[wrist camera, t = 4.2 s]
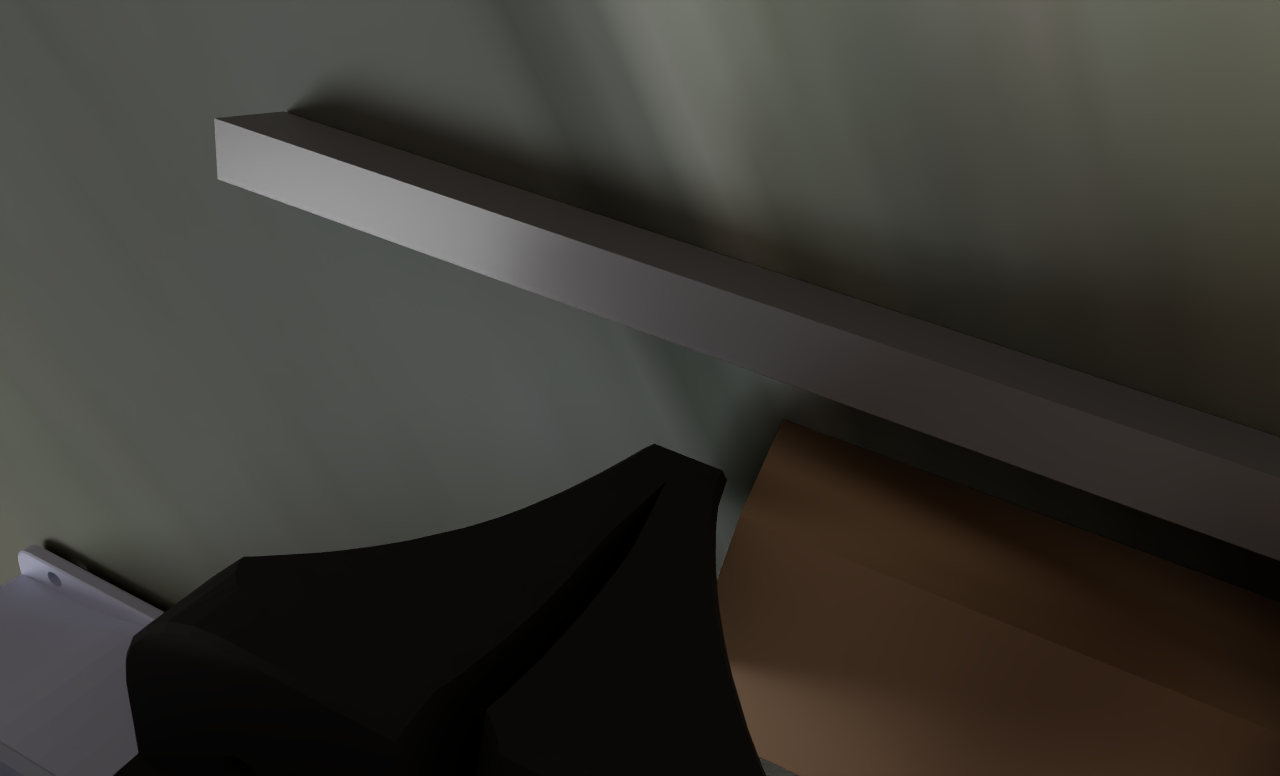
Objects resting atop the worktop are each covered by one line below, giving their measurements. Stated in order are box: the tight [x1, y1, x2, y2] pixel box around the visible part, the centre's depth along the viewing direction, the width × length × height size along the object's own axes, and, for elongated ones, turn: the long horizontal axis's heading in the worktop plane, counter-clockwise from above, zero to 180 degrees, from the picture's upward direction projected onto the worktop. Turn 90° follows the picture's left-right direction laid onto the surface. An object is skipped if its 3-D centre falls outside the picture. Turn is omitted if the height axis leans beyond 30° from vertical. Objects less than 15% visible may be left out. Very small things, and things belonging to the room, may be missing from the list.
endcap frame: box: [214, 112, 1280, 561], centre depth 11 cm, size 21×8×4 cm, turn 77°
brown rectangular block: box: [717, 420, 1280, 776], centre depth 11 cm, size 8×4×3 cm, turn 77°
